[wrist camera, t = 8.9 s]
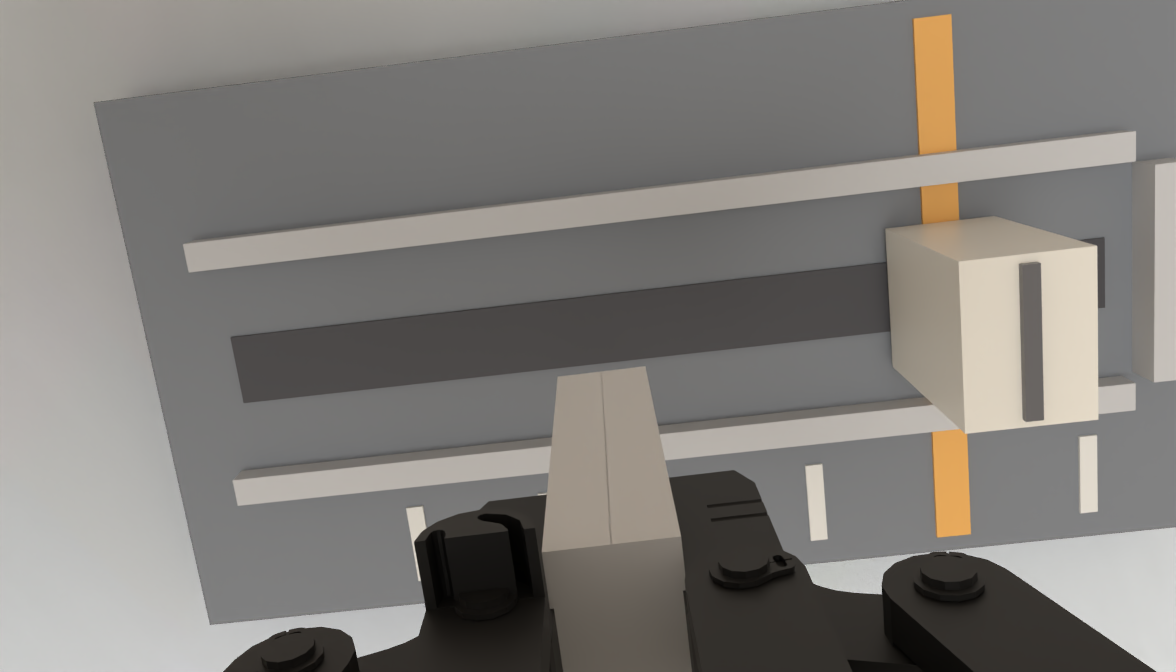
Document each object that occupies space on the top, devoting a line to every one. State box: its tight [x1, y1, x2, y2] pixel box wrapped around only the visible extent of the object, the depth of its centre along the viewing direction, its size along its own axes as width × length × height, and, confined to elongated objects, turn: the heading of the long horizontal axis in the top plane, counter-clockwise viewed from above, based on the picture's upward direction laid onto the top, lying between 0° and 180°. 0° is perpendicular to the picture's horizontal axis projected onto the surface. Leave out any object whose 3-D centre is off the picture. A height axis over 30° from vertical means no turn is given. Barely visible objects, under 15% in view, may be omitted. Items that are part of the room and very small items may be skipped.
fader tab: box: [885, 216, 1098, 434], centre depth 25 cm, size 4×3×6 cm
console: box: [94, 0, 1176, 625], centre depth 29 cm, size 16×30×3 cm, turn 97°
